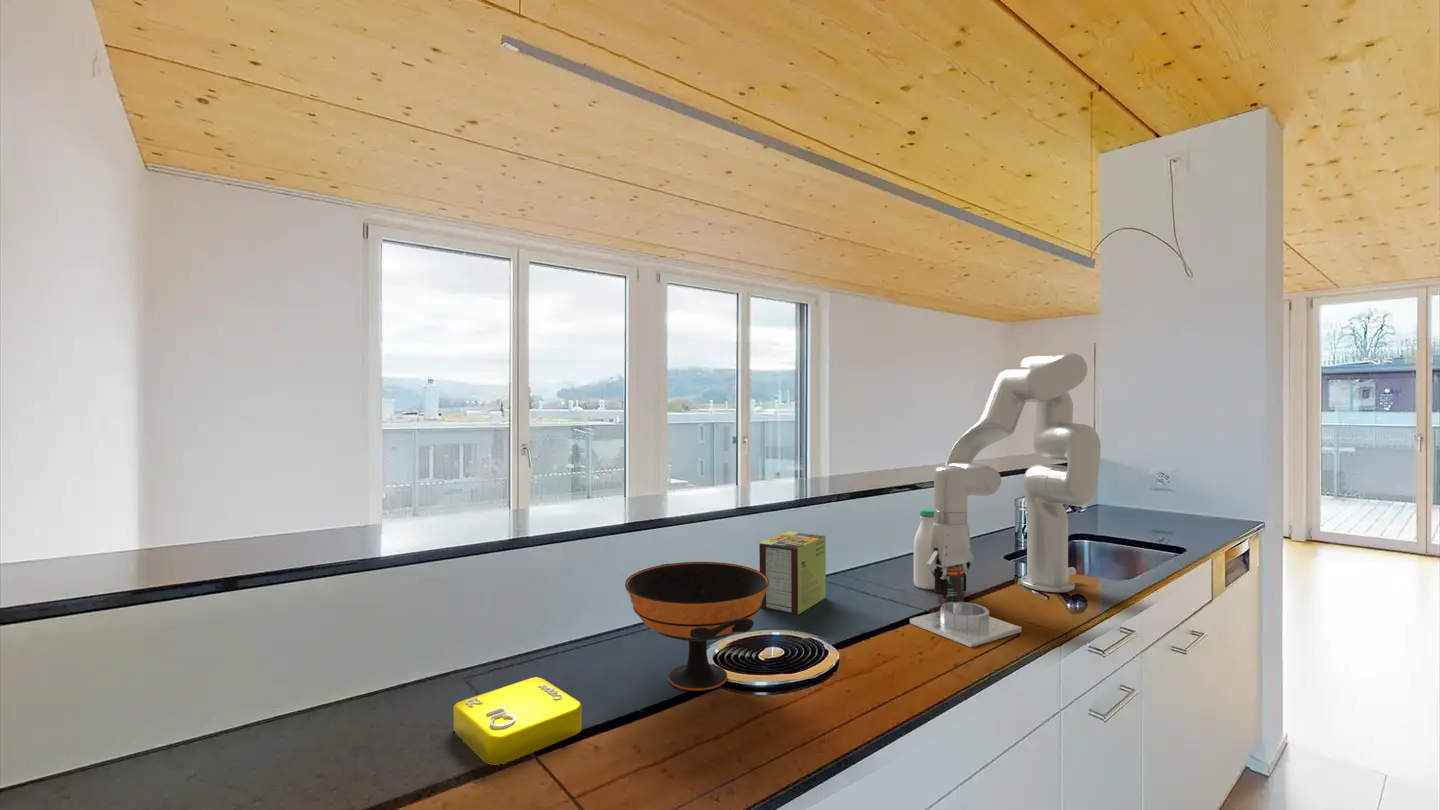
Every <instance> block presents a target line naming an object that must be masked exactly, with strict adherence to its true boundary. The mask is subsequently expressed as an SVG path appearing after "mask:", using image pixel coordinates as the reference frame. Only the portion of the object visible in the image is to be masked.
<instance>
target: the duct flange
mask: <svg viewBox="0 0 1440 810" xmlns="http://www.w3.org/2000/svg"><path fill="white" fill-rule="evenodd" d="M909 624H911V625H914V626H916V627H918V628H921V629H923V630H926V631H927V632H928V631H929V632H930V633H934V634H936V635H939V636H941V637H944V638H947V639H949V640H951V641H954V642H956V643H959V644H961V645H964V646H967V647H969V648H973V647H976V646H980V645H983V644H987V643H991V642H993V641H996V640H1000V639H1003V638H1005V637H1009V636H1013V635H1016V634H1019V633H1022V626H1019V625H1016V624H1014V623H1010V622H1008V621H1004V620H1002V619H998V618H996V617H993V616H990V610H989V609H988V608H986V607H985V606H983V605H979V604H977V603H973V602H967V601H966V602H965V601H964V602H949V603H945V604H942V603H941V606H940V610H939V611H935V612H931V613H928V614H923V615H920V616H914V617H911V618H909Z"/></svg>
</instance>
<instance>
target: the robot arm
mask: <svg viewBox="0 0 1440 810" xmlns="http://www.w3.org/2000/svg"><path fill="white" fill-rule="evenodd" d="M1087 364H1088V363H1087V361H1086V360H1085V359H1084V357H1083V356H1082V355H1080V354H1078V353H1075V352H1060V353H1039V354H1032V355H1029V356H1026V357H1024V358H1022V359H1021V361H1020V362H1019V365H1018V367H1015V368H1007V369H1004V370H1002V371H1000V372H999V374H997V376H996V377H995V379H994V382H993V385H992V387H991V389H990V392H989V395H988V398H987V399H986V402H985V404H984V407H983V409H982V412H981V414H980V417H979V419H978V420H977V422H975V424H973V425H972V426H971V427H969V428H968V429H967V430H966V431H965V432H964V434H963V435H961V437H959V439H957V441H955V443H954V444H953V446H952V447H951V449H950V451H949V453H948V456H947V460H946V462H945V465H939V466H937V467H935V470H934V476H933V477H934V480H933V481H934V484H933V485H934V486H933V488H934V489H933V495H934V496H933V497H934V500H933V501H934V504H933V505H934V507H933V509H934V523H933V524H932V527H931V532H930V540H929V561H928V562H927V564H926V566H927V567H928V569H929V570H930V571H931V573H932V574H933V577H935V590H934V594H936V595H938V594H939V595H942V596H947V579H945V577H946V573H947V569H948V567H952V566H955V565H962V566H963V569H964V593H965V592H967V575H968V574H969V570H970V569H969V568H970V567H971V563H972V562H973V560H974V559H975V556H974V554H973V553H972V552H971V550H972V549H971V535H970V528H969V522H968V496H977V497H978V496H979V497H989V496H991V495H993V494H996V493H997V492H998V490H999V489H1000V488H1001V485H1002V478H1001V474H1000V473H999V471H997V470H996V469H995V468H994V467H993V466H990V465H986V464H980V463H973V462H974V460H975V458H976V457H977V455H978V454H979V453H980V452H981V451H983V449H985V448H987V447H988V446H990V445H992V444H995V443H997V442H1000V441H1003V440H1005V439H1007V438H1008V437H1010V436H1012V435H1013V434H1014V432H1015V430H1016V427H1017V425H1018V423H1019V419H1020V418H1021V414H1022V412H1023V410H1024V408H1025V405H1026V403H1035V404H1036V410H1035V413H1036V414H1035V423H1034V433H1033V449H1034V452H1035V453H1036V455H1038V456H1040V457H1042V458H1045V459H1050V460H1058V461H1066V462H1067V465H1060V464H1052V463H1037V464H1034V465H1032V466H1030V467H1029V468H1027V469H1026V471H1025V473H1024V475H1023V477H1022V478H1023V479H1022V484H1023V485H1022V487H1023V491H1024V494H1025V501H1026V510H1027V511H1026V512H1027V515H1026V516H1027V518H1026V519H1027V522H1026V523H1027V524H1026V526H1027V527H1026V529H1027V530H1026V531H1027V532H1026V535H1027V537H1026V545H1027V547H1026V550H1027V551H1026V557H1027V558H1026V575H1022V576H1021V578H1020V584H1021V585H1022V586H1024V587H1026V588H1028V589H1031V590H1036V591H1041V592H1047V593H1048V592H1049V593H1068V592H1073V590H1075V589H1076V587H1075V586H1076V585H1075V582H1073V581H1071V580H1070V578H1069V577H1070V576H1072V575H1076V574H1077V570H1076V568H1075V567H1073V566H1072V567H1069V518H1068V513H1067V511H1066V508H1065V506H1064V505H1067V506H1073V507H1085V506H1087V505H1089V504H1090V503H1092V502H1093V500H1094V498H1095V496H1096V493H1097V489H1098V488H1097V487H1098V482H1099V481H1098V480H1099V470H1100V462H1101V461H1100V460H1101V450H1102V447H1101V446H1102V445H1101V439H1100V437H1099V434H1098V431H1097V430H1096V429H1094V427H1092V426H1090V425H1088V424H1086V423H1085V424H1084V423H1073V421H1074V420H1073V414H1074V403H1073V400H1072V399H1073V398H1072V397H1071V394H1070V393H1069V391H1072V390H1073V389H1075V388H1077V387H1079V386H1080V385H1081V384H1082V383H1084V381H1085V379H1086V377H1087V375H1088V365H1087ZM940 563H941V565H940ZM940 568H942V571H941V572H940V570H939V569H940Z"/></svg>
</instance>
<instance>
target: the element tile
mask: <svg viewBox="0 0 1440 810" xmlns="http://www.w3.org/2000/svg"><path fill="white" fill-rule="evenodd" d="M582 707H583V706H582V703H581V701H579V700H577V699H576V698H575V697H572V696H571V695H569V694H568V693H566V692H565V691H563V690H561V688H559V687H557V686H556V685H554V684H552V683H550V681H548V680H546V679H544V678H541V677H537V676H535V677H530V678H528V679H524V680H521V681H518V682H515V683H512V684H509V685H506V686H503V687H501V688H496V689H494V690H493V689H492V690H490V691H488V692H484V693H482V694H478V695H475V696H472V697H469V698H466V699H463V700H461V701H458V702H456V703H455V704H454V705H453V711H452V712H453V732H454V731H455V732H456V733H457V735H459V736H460V738H461V739H462V740H463V741H464V742H465V743H466V744H467V745H468V746H469V747H470V748H471V749H472V750H471V749H470V748H469V747H468V746H467V745H466V744H465V743H464V742H463V743H464V744H465V745H466V746H467V747H468V748H469V749H470V750H471V751H472V752H473V751H474V752H473V753H474V754H475V753H476V754H475V755H476V756H477V755H478V756H479V759H480V760H481V761H482V762H483V763H485V764H486V763H487V764H486V765H488V764H490V765H489V766H492V765H497V766H500V765H499V764H503V765H506V764H508V763H507V762H509V761H511V762H513V761H516V760H518V759H520V757H521V758H523V757H525V755H526V756H527V755H530V754H532V753H535V752H538V751H540V750H543V749H545V748H547V747H550V746H552V745H554V744H555V745H556V744H557V743H559V742H561V741H564V740H566V739H570V738H571V737H574V736H576V735H578V734H579V733H580V732H581V731H582V729H583V726H582V724H583V723H582V722H583V721H582V716H583V714H582V712H583V711H582ZM478 756H477V757H478ZM515 759H516V760H515ZM505 763H506V764H505ZM509 763H510V762H509Z"/></svg>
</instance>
